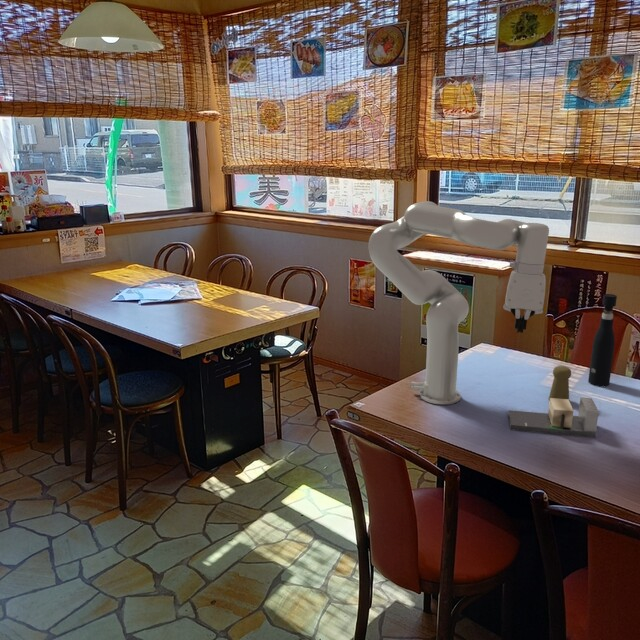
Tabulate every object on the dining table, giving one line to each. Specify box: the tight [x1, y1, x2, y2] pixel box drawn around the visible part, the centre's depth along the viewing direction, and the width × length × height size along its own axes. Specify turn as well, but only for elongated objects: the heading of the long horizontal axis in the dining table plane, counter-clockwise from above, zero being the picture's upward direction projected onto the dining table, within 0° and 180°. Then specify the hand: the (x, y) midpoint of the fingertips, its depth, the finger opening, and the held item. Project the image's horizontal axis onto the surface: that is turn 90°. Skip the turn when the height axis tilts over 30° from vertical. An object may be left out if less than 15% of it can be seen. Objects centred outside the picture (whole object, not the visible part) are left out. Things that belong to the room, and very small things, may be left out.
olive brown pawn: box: [548, 365, 572, 402], centre depth 185 cm, size 6×6×11 cm
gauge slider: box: [547, 398, 574, 428], centre depth 168 cm, size 5×9×5 cm, turn 167°
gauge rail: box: [507, 397, 599, 438], centre depth 169 cm, size 22×10×8 cm, turn 77°
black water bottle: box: [587, 293, 618, 388], centre depth 196 cm, size 6×6×30 cm
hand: (519, 331), depth 172 cm, fingers closed
